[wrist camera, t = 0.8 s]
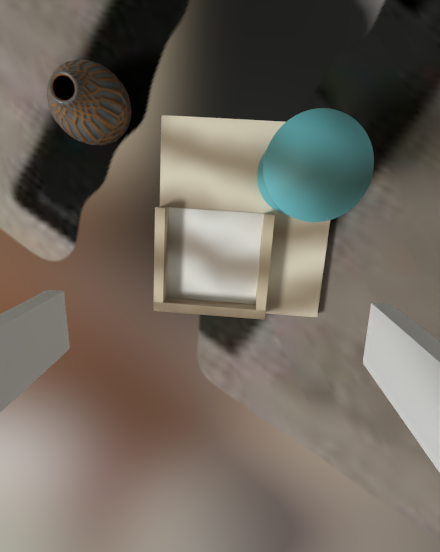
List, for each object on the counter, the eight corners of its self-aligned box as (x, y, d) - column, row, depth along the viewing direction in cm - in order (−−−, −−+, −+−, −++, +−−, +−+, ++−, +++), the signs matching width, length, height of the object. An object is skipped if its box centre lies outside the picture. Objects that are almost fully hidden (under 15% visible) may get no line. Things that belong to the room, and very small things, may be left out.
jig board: (163, 117, 34) (130, 83, 24) (340, 126, 33) (385, 95, 23) (160, 302, 39) (131, 340, 29) (314, 314, 38) (342, 357, 28)
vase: (99, 61, 33) (51, 15, 25) (152, 110, 34) (123, 81, 26) (61, 118, 35) (3, 92, 26) (113, 163, 36) (73, 153, 27)
